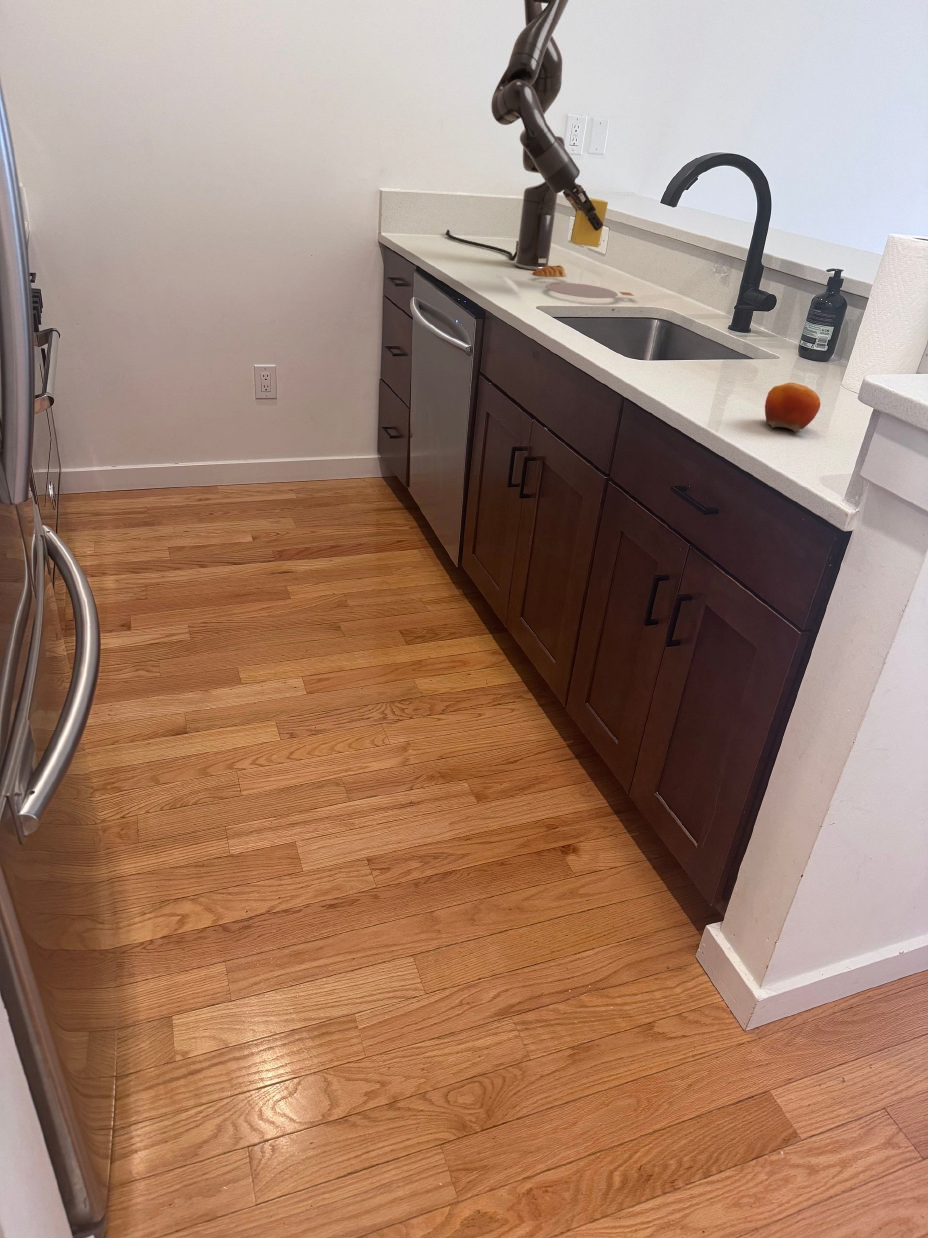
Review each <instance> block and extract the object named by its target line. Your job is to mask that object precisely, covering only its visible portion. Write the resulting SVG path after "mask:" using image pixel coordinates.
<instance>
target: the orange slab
mask: <svg viewBox="0 0 928 1238" xmlns="http://www.w3.org/2000/svg"><path fill="white" fill-rule="evenodd" d="M619 293H620V294H621V295H622V296H630V297H633V296H634V297H635V295H634V294H632V293H631V292H628V291H627V292H625V291H619Z"/></svg>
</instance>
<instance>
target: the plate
mask: <svg viewBox="0 0 928 1238" xmlns="http://www.w3.org/2000/svg"><path fill="white" fill-rule="evenodd" d="M545 288H546V289H548V290H549V291H552V292H555V293H558V294H562V295H567V296H573V297H579V298H588V299H611V298H616V297H618V296H619V295H618V292H616V291H614V290H611V289H609V288H605V287H603V286H602V287H601V286H598V285H597V286H596V285H591V284H585V283H575V282H552V283H548V284H546V285H545Z"/></svg>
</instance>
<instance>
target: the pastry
mask: <svg viewBox="0 0 928 1238" xmlns="http://www.w3.org/2000/svg"><path fill="white" fill-rule="evenodd" d="M566 274H567V273H566V271H565V267H563V266H562V265H561V264H559V265H548V266H544V267H542V268H541V269H537V270H533V272H532V276H535V277H540V278H567V275H566Z"/></svg>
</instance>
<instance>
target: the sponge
mask: <svg viewBox="0 0 928 1238" xmlns="http://www.w3.org/2000/svg"><path fill="white" fill-rule="evenodd" d="M589 199H590V201H591V202H592V204H593V206H594V207H595V208H596V212H595V213H596V214H597V216H598V217H599V219H600V220H601V222H602V223H603V225H604V223H605V219H606V213H607V211H608V206H609V205H608V204H609V202H608V201H606V200H603V199H598V198H593V197H592V198H591V197H589ZM579 207H580V206H579ZM589 209H590V207H589V206H587V207H586V211H588V210H589ZM603 227H604V226H603ZM603 227H601V228H600V229H599V230H598V231H596V230H595V229H594V228H593V226H592V225H591V223H590V222H589V221H588V219H587V218H585V215H584V214H583V212H582V211H580V212H579V211H578V210H576V211H575V216H574V221H573V225H572V229H571V235H570V243H573V244H574V245H578V246H585V247H591V248H592V247H593V248H599V246H600V242H601V238H602V233H603Z"/></svg>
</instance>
